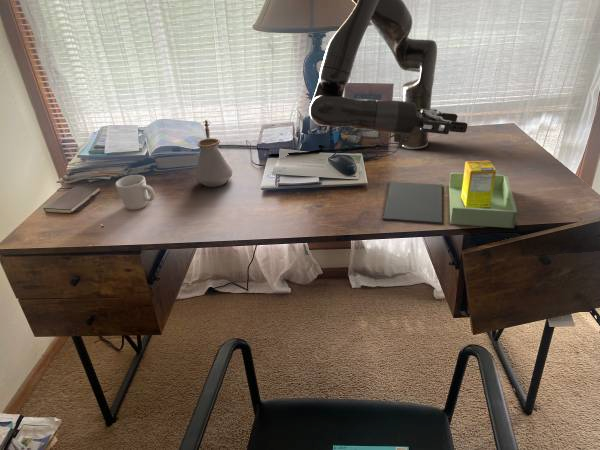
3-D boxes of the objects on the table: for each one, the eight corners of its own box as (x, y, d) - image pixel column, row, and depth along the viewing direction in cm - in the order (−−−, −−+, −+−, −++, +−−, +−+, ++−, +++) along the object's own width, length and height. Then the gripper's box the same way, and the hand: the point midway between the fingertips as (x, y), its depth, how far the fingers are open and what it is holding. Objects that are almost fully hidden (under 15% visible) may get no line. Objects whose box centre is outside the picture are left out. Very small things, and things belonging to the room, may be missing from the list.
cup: (165, 201, 127) (158, 176, 122) (149, 215, 120) (141, 189, 116) (134, 197, 130) (127, 173, 126) (117, 211, 124) (108, 185, 119)
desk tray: (450, 223, 105) (452, 207, 103) (449, 186, 121) (450, 172, 119) (513, 228, 101) (517, 211, 99) (503, 189, 117) (506, 174, 115)
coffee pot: (235, 186, 131) (227, 139, 123) (196, 192, 130) (186, 144, 122) (231, 159, 149) (224, 116, 141) (197, 164, 148) (188, 121, 140)
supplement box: (483, 198, 114) (490, 159, 108) (489, 210, 108) (497, 170, 103) (460, 199, 114) (465, 160, 109) (465, 210, 109) (470, 170, 103)
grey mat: (383, 219, 109) (383, 218, 109) (390, 183, 125) (390, 182, 125) (441, 223, 105) (441, 222, 105) (441, 186, 122) (441, 184, 121)
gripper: (400, 107, 96) (474, 114, 96) (391, 95, 109) (457, 101, 108) (394, 140, 99) (466, 147, 99) (386, 125, 112) (449, 130, 112)
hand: (461, 123), depth 104 cm, fingers open, 8 cm apart
